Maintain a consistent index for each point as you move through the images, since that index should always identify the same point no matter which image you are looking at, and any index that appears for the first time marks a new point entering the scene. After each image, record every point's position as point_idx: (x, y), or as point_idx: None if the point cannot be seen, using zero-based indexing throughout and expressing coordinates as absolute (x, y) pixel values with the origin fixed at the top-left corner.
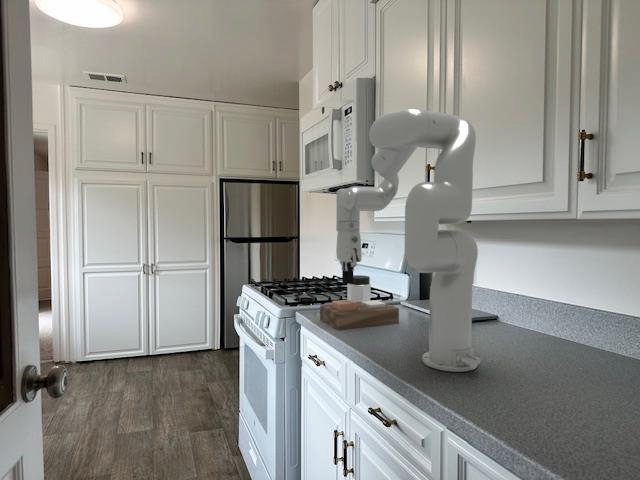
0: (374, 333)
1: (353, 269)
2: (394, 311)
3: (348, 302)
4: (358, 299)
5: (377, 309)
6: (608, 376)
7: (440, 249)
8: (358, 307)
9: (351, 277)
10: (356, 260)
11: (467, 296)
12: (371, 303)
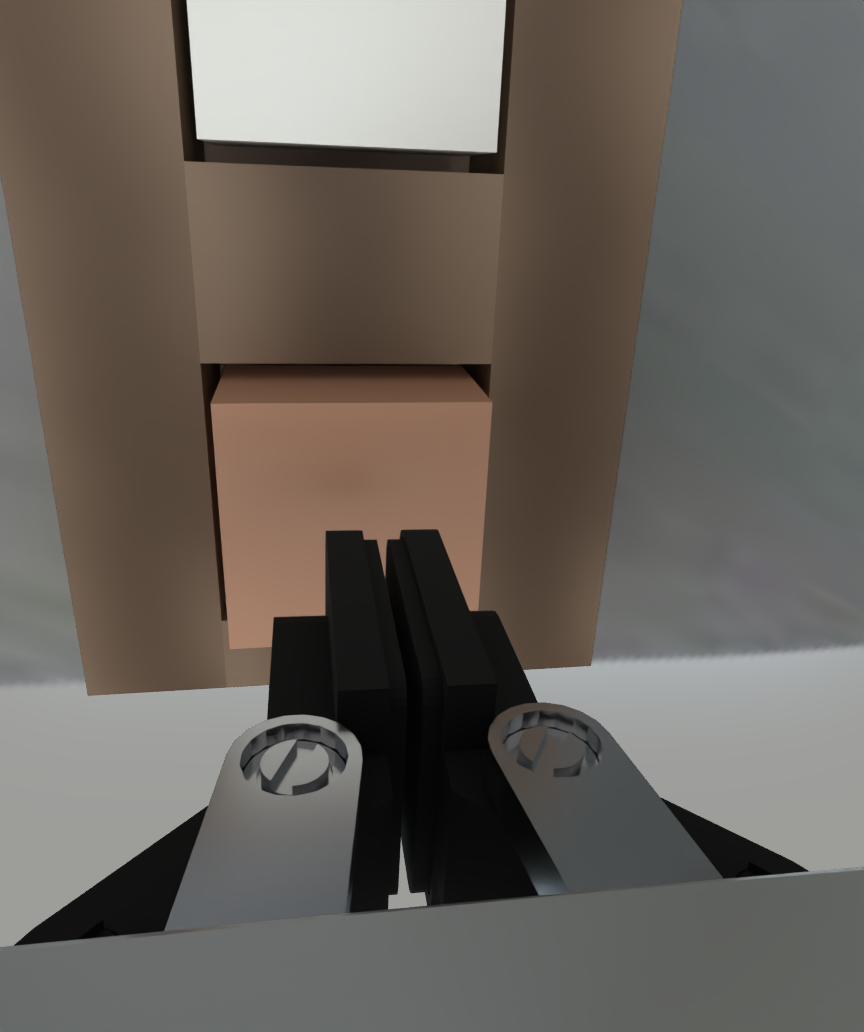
0: (789, 339)
1: (611, 754)
2: None
3: (414, 490)
4: None
5: (628, 110)
6: None
7: None
8: (396, 305)
9: (510, 652)
10: (745, 916)
11: None
12: (393, 47)
